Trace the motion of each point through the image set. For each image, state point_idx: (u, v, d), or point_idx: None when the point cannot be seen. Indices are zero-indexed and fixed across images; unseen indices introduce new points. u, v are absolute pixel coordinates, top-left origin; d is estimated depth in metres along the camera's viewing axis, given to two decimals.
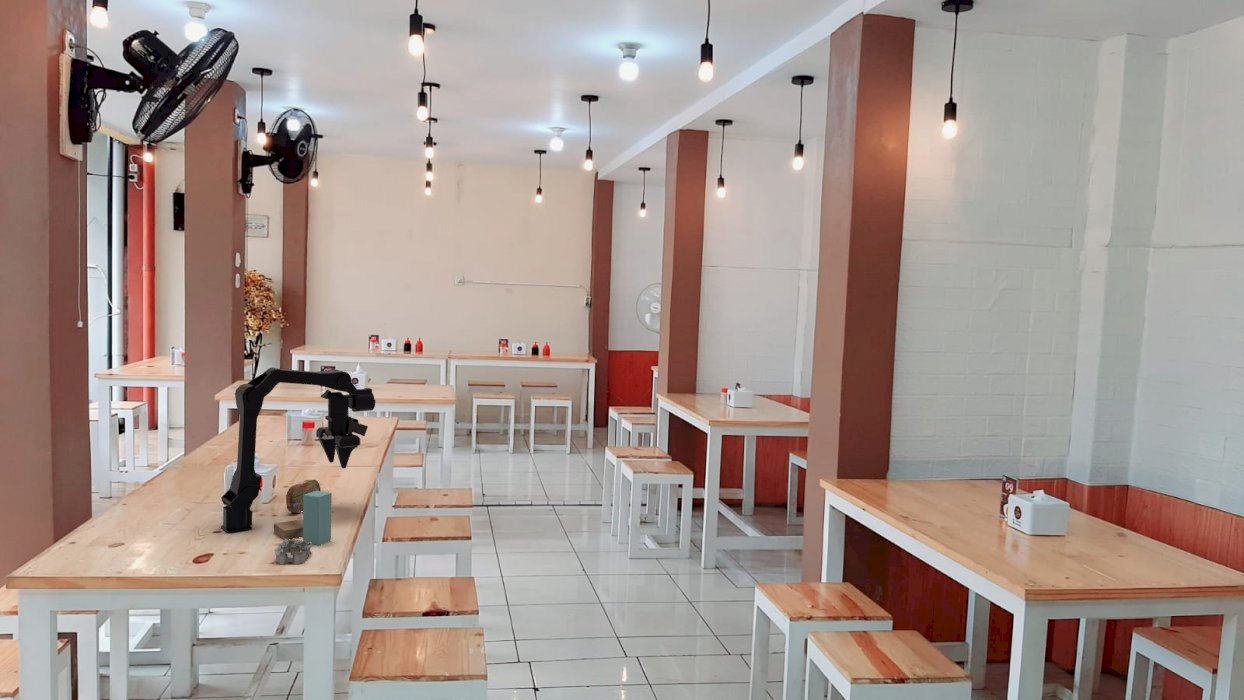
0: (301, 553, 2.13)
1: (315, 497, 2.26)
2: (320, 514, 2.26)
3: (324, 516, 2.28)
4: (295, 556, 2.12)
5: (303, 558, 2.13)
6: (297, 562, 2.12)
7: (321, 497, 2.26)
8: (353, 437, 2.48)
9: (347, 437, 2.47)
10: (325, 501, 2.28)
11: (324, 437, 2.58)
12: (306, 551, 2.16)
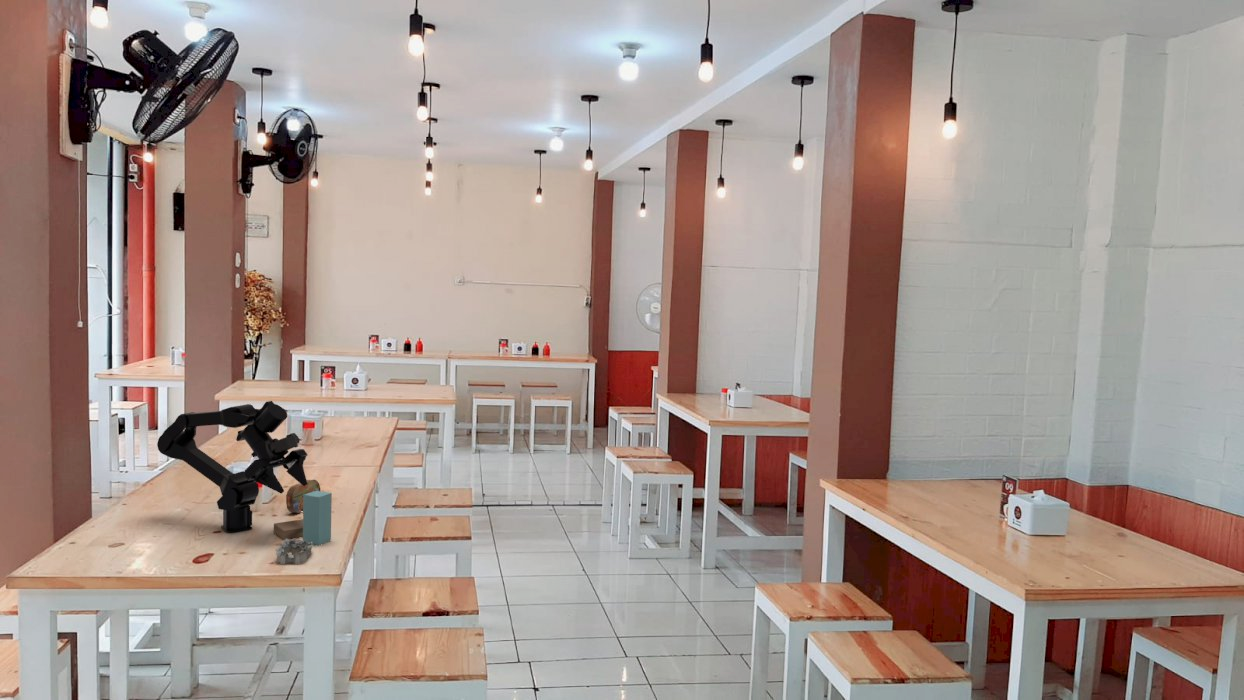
0: (302, 553, 2.13)
1: (315, 497, 2.26)
2: (320, 514, 2.26)
3: (324, 516, 2.28)
4: (296, 556, 2.12)
5: (304, 558, 2.13)
6: (297, 562, 2.12)
7: (321, 497, 2.26)
8: (251, 464, 2.24)
9: (247, 468, 2.25)
10: (325, 501, 2.28)
11: (288, 466, 2.38)
12: (307, 551, 2.16)
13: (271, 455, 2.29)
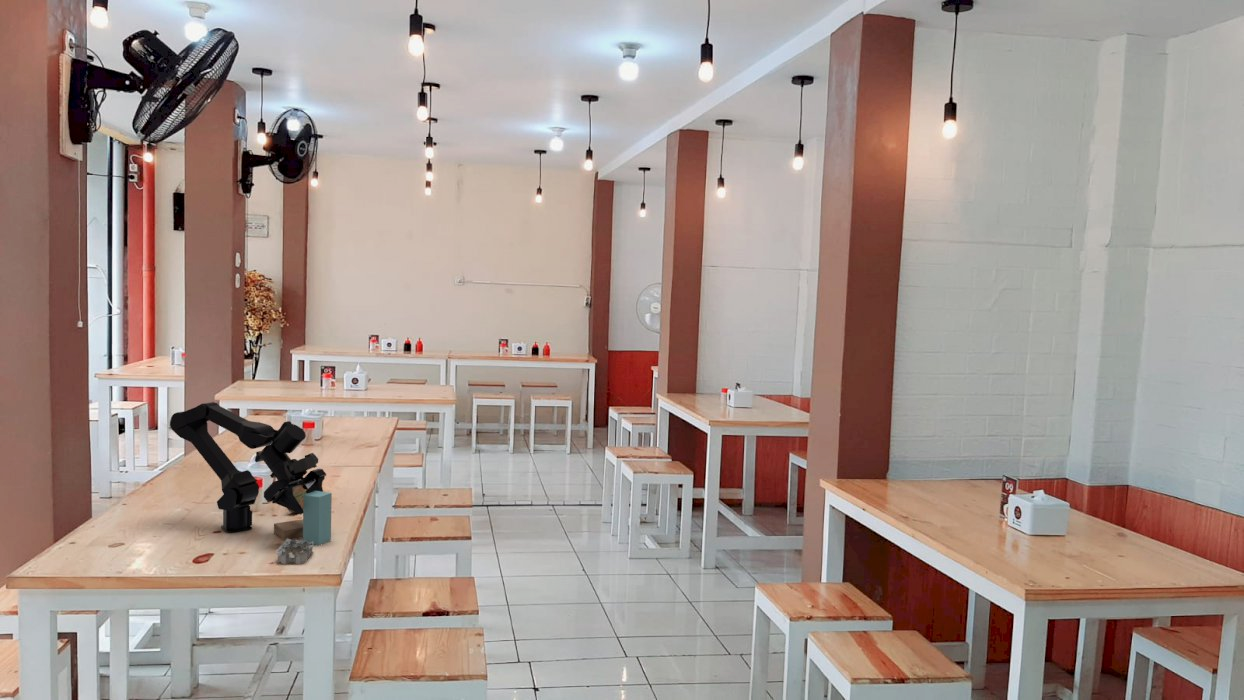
0: (303, 553, 2.13)
1: (315, 497, 2.26)
2: (320, 514, 2.26)
3: (324, 516, 2.28)
4: (297, 556, 2.12)
5: (305, 558, 2.13)
6: (298, 562, 2.12)
7: (321, 497, 2.26)
8: (270, 486, 2.22)
9: (266, 489, 2.23)
10: (325, 501, 2.28)
11: (307, 486, 2.36)
12: (308, 551, 2.16)
13: (290, 476, 2.28)
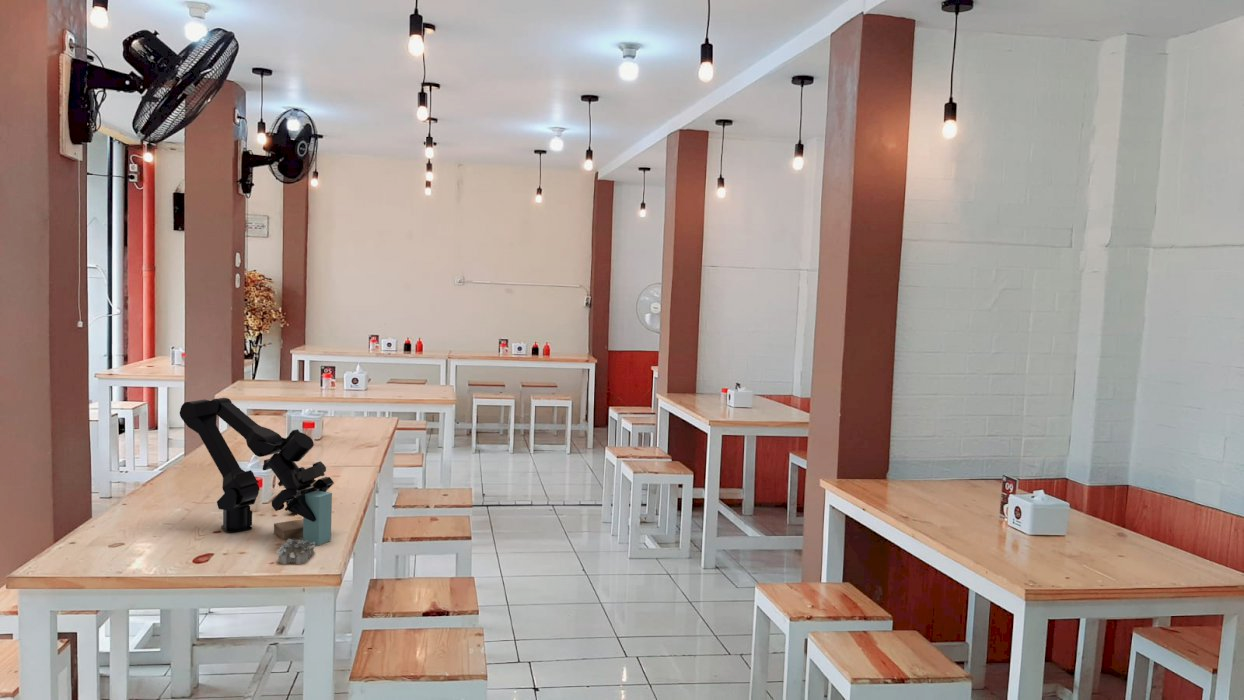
0: (303, 553, 2.13)
1: (315, 497, 2.26)
2: (320, 514, 2.26)
3: (324, 516, 2.28)
4: (297, 556, 2.12)
5: (305, 558, 2.13)
6: (299, 562, 2.12)
7: (321, 497, 2.26)
8: (278, 495, 2.21)
9: (274, 498, 2.22)
10: (325, 501, 2.28)
11: None
12: (309, 551, 2.16)
13: (298, 484, 2.27)
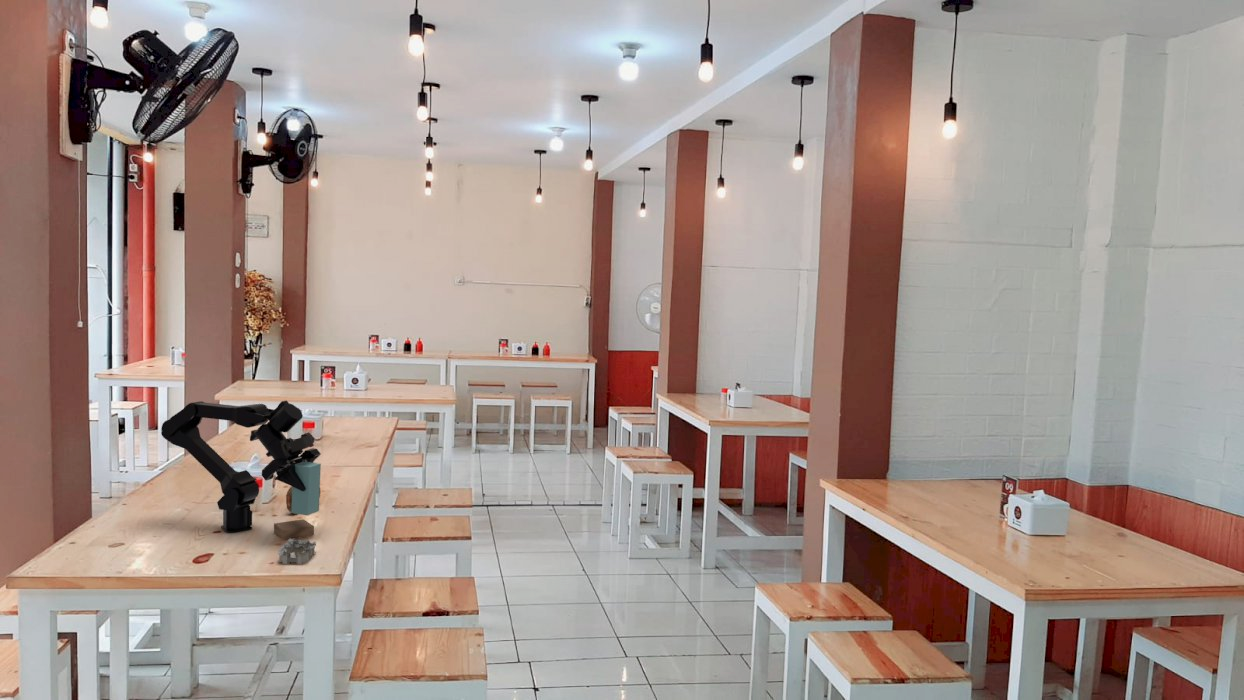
0: (304, 553, 2.13)
1: (305, 467, 2.29)
2: (310, 484, 2.29)
3: (313, 486, 2.31)
4: (298, 556, 2.12)
5: (306, 558, 2.13)
6: (299, 562, 2.12)
7: (311, 467, 2.29)
8: (269, 464, 2.24)
9: (265, 468, 2.24)
10: (314, 471, 2.31)
11: None
12: (309, 551, 2.16)
13: (287, 455, 2.29)
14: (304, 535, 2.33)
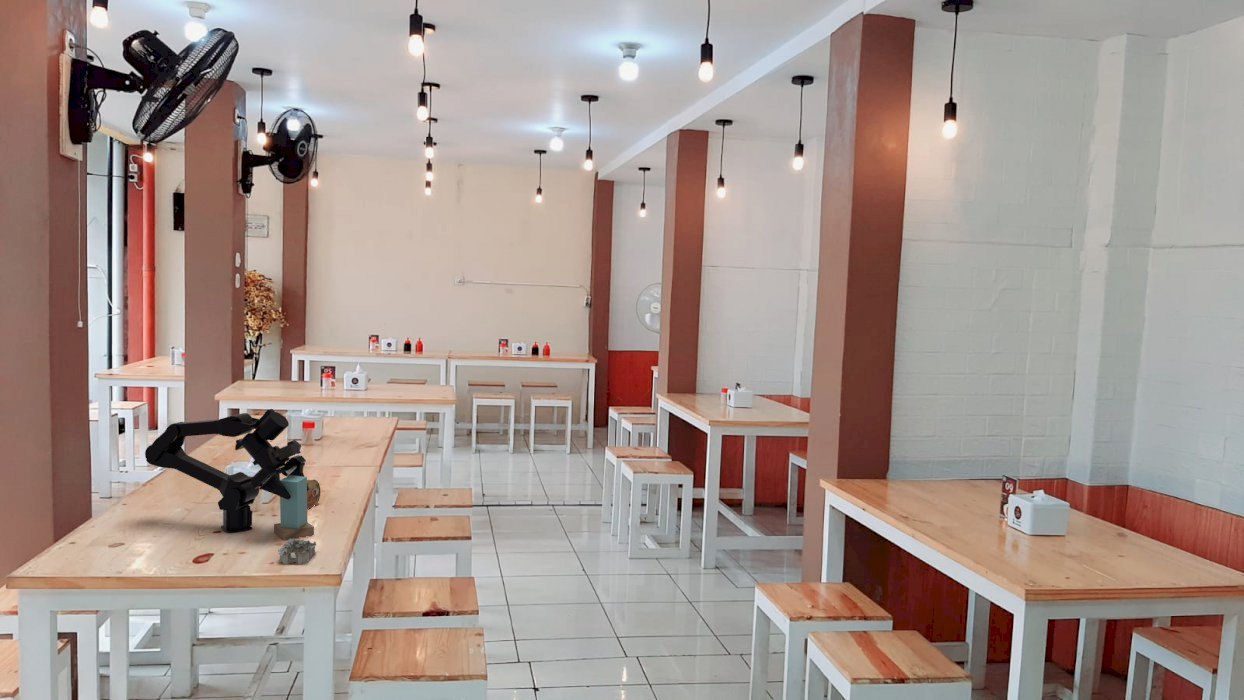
0: (304, 553, 2.13)
1: (293, 482, 2.31)
2: (298, 498, 2.32)
3: (301, 500, 2.33)
4: (298, 556, 2.12)
5: (306, 558, 2.13)
6: (300, 562, 2.12)
7: (299, 482, 2.31)
8: (258, 472, 2.26)
9: (254, 476, 2.26)
10: (301, 485, 2.33)
11: (287, 473, 2.41)
12: (310, 551, 2.16)
13: (275, 462, 2.32)
14: (304, 536, 2.33)
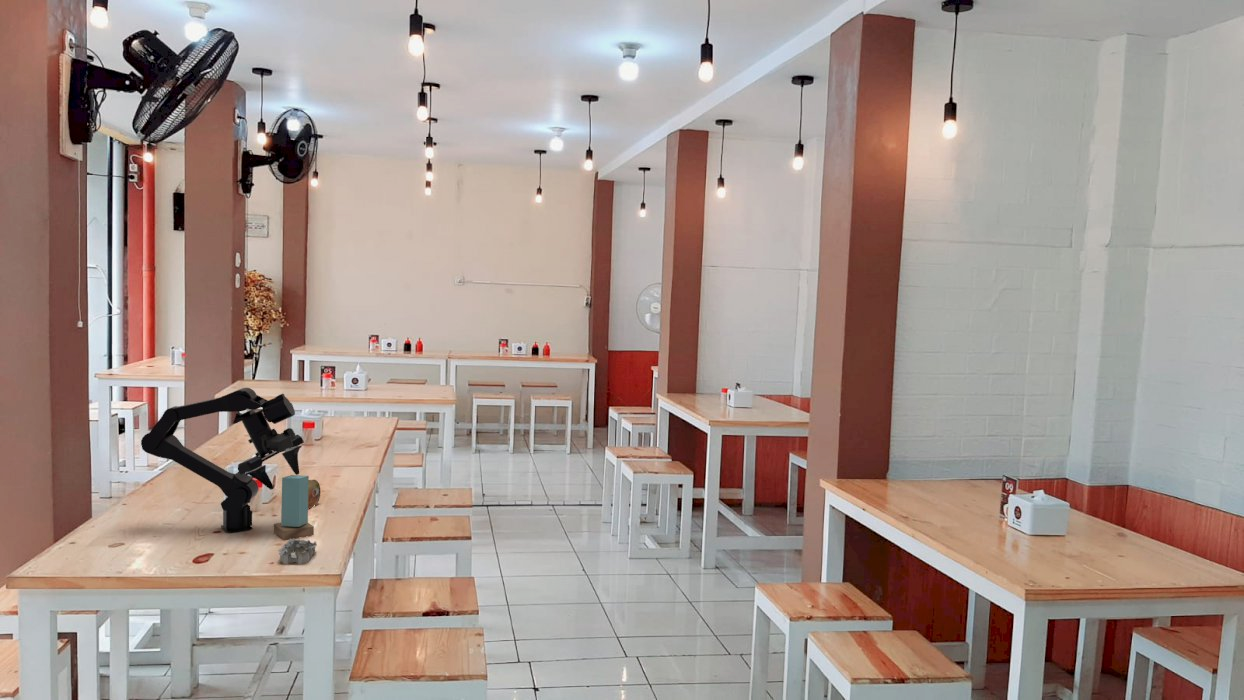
0: (305, 553, 2.13)
1: (295, 479, 2.32)
2: (300, 495, 2.33)
3: (303, 498, 2.34)
4: (299, 556, 2.12)
5: (307, 558, 2.13)
6: (300, 562, 2.12)
7: (301, 479, 2.33)
8: (244, 463, 2.30)
9: (240, 464, 2.31)
10: (303, 483, 2.35)
11: None
12: (310, 551, 2.16)
13: (266, 451, 2.34)
14: (304, 535, 2.33)
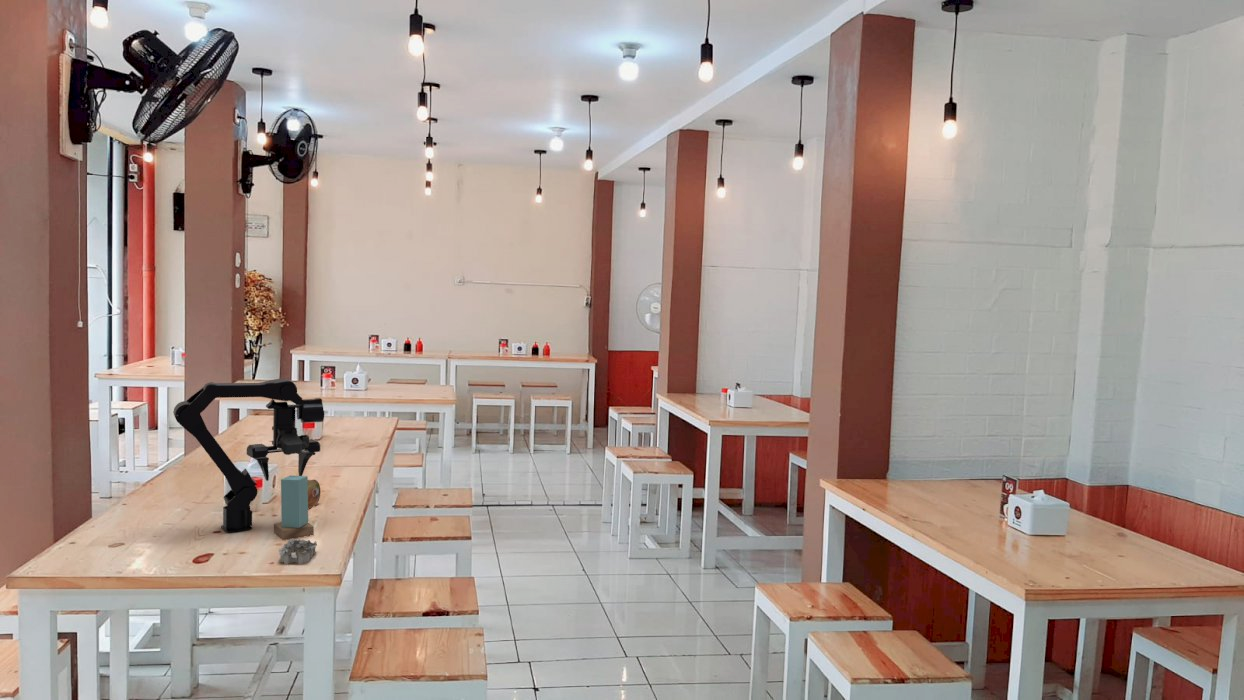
0: (305, 553, 2.13)
1: (294, 480, 2.32)
2: (299, 497, 2.32)
3: (302, 499, 2.34)
4: (299, 556, 2.12)
5: (307, 558, 2.13)
6: (301, 562, 2.12)
7: (300, 480, 2.32)
8: (251, 448, 2.36)
9: (250, 446, 2.38)
10: (302, 484, 2.34)
11: None
12: (310, 551, 2.16)
13: (276, 446, 2.39)
14: (304, 535, 2.34)
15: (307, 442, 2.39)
